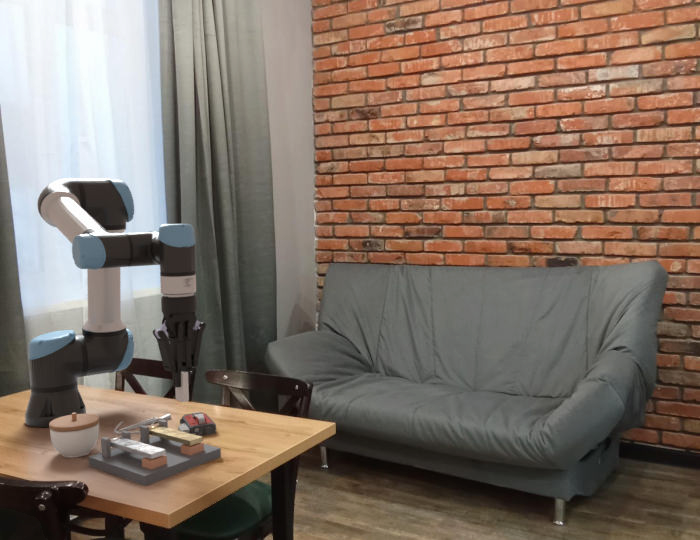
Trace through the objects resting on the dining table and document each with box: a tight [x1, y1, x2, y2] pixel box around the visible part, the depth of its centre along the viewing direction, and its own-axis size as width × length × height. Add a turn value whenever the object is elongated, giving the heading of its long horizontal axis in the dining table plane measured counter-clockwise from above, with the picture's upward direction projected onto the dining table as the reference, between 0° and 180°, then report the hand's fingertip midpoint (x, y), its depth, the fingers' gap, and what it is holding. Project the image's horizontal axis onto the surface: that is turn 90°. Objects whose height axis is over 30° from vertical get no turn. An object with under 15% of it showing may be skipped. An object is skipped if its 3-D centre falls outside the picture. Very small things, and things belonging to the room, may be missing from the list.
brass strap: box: [149, 424, 204, 446], centre depth 155 cm, size 16×4×2 cm, turn 53°
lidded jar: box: [48, 413, 100, 459], centre depth 158 cm, size 11×11×9 cm
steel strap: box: [110, 435, 166, 459], centre depth 147 cm, size 16×4×2 cm, turn 53°
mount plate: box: [88, 420, 222, 487], centre depth 151 cm, size 20×20×6 cm
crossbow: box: [113, 413, 172, 435], centre depth 178 cm, size 16×13×2 cm
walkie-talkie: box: [177, 411, 217, 437], centre depth 170 cm, size 9×4×20 cm
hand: (182, 400), depth 152 cm, fingers closed
